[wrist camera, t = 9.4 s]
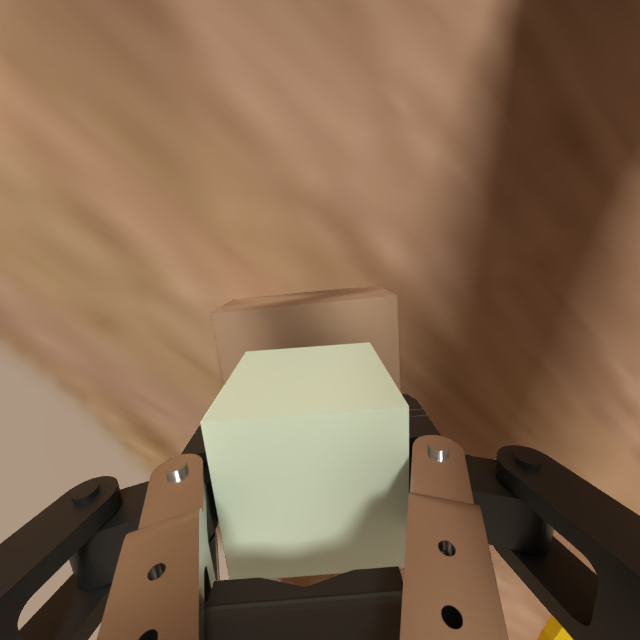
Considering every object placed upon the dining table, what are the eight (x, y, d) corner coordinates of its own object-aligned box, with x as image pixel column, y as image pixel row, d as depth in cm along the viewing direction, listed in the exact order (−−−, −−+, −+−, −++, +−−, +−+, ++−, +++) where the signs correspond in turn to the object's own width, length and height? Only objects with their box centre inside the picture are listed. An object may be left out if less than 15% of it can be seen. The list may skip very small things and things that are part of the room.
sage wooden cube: (369, 342, 12) (408, 406, 7) (373, 449, 13) (409, 567, 8) (245, 351, 12) (200, 422, 7) (260, 458, 13) (230, 582, 8)
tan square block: (377, 284, 17) (397, 295, 13) (383, 413, 18) (402, 457, 14) (234, 298, 17) (210, 313, 13) (255, 425, 18) (239, 473, 14)
